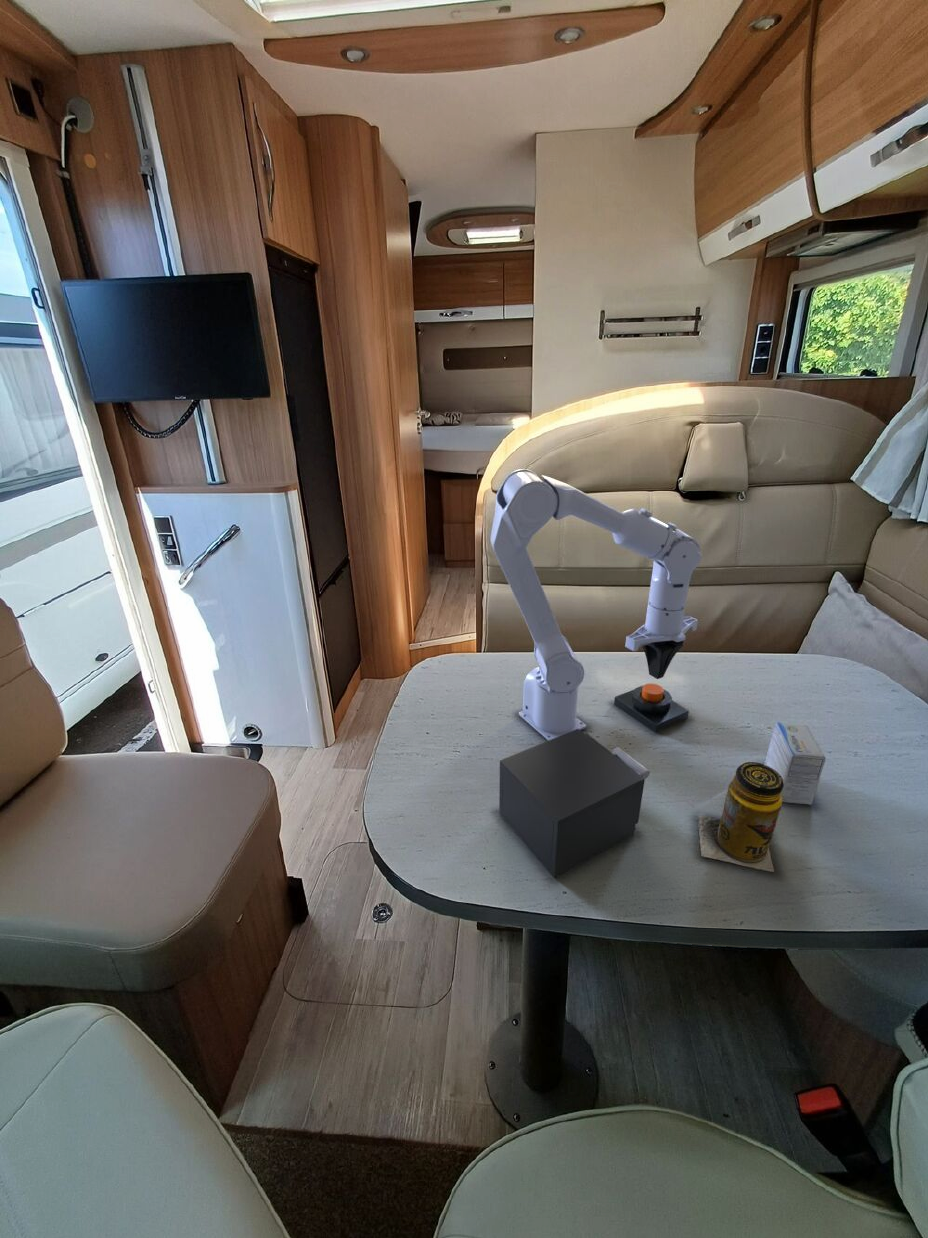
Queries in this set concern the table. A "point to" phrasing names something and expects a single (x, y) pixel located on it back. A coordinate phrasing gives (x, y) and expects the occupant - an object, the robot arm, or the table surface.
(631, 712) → the control block
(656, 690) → the button
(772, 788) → the condiment
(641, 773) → the drawer
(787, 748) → the medicine box
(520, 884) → the table surface
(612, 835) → the grey cube with drawer
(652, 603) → the robot arm
